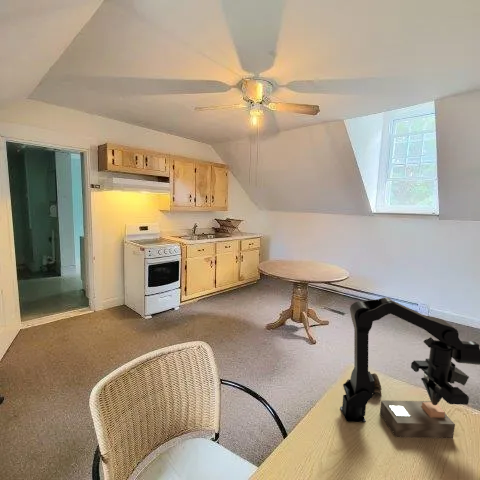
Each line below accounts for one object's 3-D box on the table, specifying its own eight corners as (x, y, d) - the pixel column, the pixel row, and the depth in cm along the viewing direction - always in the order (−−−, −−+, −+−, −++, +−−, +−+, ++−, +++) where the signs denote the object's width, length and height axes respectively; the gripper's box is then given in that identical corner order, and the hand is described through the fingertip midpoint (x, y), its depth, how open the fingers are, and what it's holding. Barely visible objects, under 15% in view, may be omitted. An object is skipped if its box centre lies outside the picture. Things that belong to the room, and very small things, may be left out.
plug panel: (395, 437, 87) (397, 422, 87) (379, 413, 97) (381, 400, 97) (453, 438, 88) (455, 424, 87) (431, 414, 97) (433, 401, 97)
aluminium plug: (395, 429, 90) (396, 415, 90) (387, 418, 95) (389, 405, 94) (408, 429, 90) (410, 416, 90) (400, 419, 95) (402, 406, 94)
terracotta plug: (429, 425, 90) (431, 411, 89) (420, 415, 94) (422, 402, 94) (443, 425, 90) (445, 412, 89) (433, 415, 94) (435, 402, 94)
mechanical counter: (383, 391, 101) (385, 372, 109) (346, 377, 107) (351, 359, 115) (379, 405, 103) (382, 386, 112) (344, 390, 110) (349, 373, 118)
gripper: (491, 378, 80) (483, 427, 82) (443, 345, 99) (438, 386, 101) (452, 378, 80) (445, 427, 82) (412, 344, 99) (407, 385, 101)
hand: (434, 404), depth 91 cm, fingers closed
